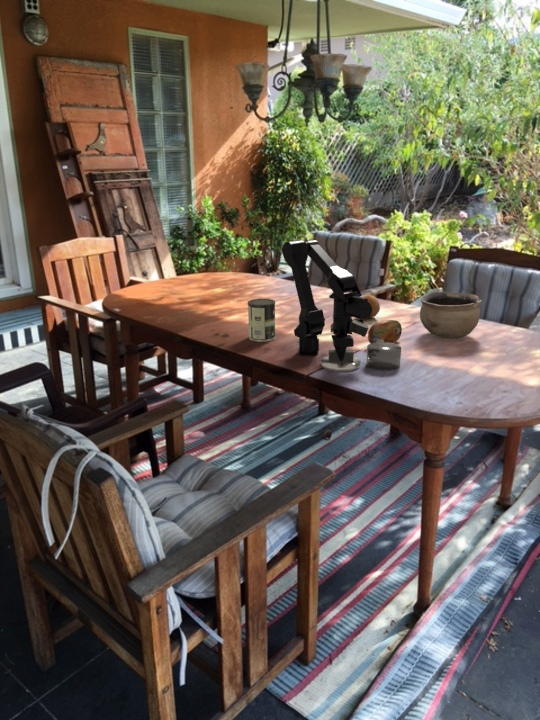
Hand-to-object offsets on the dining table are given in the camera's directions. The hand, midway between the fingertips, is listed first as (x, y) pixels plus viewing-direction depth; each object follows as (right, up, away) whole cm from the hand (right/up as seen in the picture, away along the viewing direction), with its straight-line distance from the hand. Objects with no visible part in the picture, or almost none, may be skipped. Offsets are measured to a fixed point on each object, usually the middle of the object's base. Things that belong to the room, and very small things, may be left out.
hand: (340, 359), depth 199 cm
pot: (+14, -1, +2) cm, 14 cm away
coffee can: (-26, +8, +29) cm, 40 cm away
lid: (0, -2, +1) cm, 2 cm away
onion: (+17, +17, +54) cm, 60 cm away
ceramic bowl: (+44, +8, +29) cm, 53 cm away
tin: (+18, +5, +21) cm, 29 cm away
